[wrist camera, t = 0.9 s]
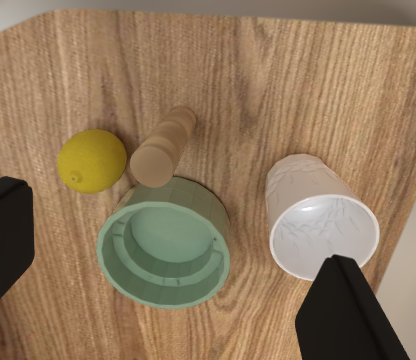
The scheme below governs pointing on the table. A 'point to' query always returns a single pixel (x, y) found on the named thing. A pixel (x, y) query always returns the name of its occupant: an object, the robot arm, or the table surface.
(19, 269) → the robot arm
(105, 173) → the lemon
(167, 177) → the stick
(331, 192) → the white cup
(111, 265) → the bowl
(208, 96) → the table surface
